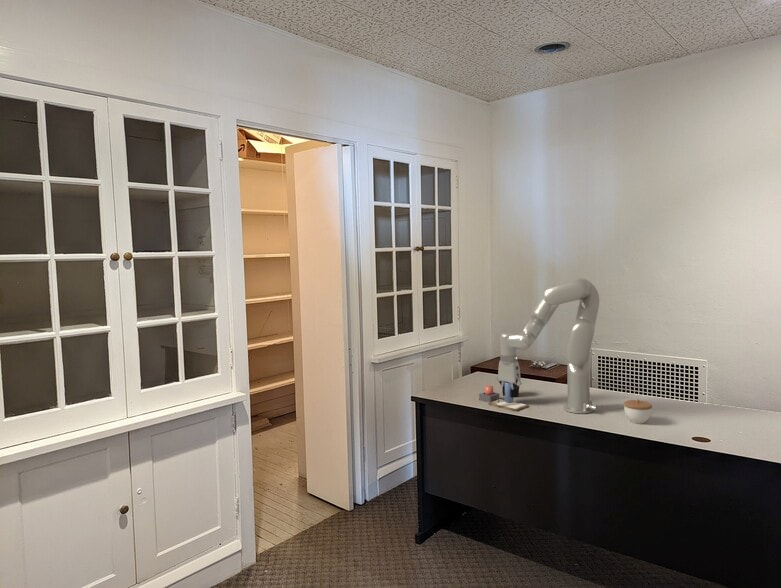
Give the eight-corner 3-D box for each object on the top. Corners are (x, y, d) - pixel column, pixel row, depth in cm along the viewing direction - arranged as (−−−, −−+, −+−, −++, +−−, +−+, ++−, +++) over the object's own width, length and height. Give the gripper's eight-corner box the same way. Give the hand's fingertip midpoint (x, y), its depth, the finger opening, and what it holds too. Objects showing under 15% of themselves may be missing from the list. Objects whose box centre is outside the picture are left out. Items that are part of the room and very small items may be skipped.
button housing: (499, 399, 266) (499, 393, 266) (490, 402, 262) (490, 396, 261) (488, 396, 272) (488, 391, 271) (479, 399, 267) (479, 393, 267)
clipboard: (529, 406, 253) (528, 404, 253) (516, 411, 246) (516, 409, 246) (501, 400, 265) (501, 398, 265) (488, 404, 258) (488, 402, 258)
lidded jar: (628, 425, 223) (628, 403, 222) (620, 417, 234) (620, 396, 233) (655, 425, 222) (655, 403, 221) (646, 417, 232) (646, 396, 231)
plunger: (495, 396, 266) (494, 386, 266) (489, 398, 264) (489, 388, 263) (488, 395, 269) (488, 385, 269) (483, 396, 267) (483, 386, 266)
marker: (515, 401, 258) (514, 376, 257) (510, 403, 255) (509, 378, 254) (508, 399, 261) (507, 375, 260) (503, 401, 258) (502, 377, 257)
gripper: (527, 359, 253) (528, 397, 254) (499, 355, 265) (499, 391, 267) (518, 362, 248) (519, 401, 249) (489, 357, 260) (490, 394, 262)
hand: (509, 395), depth 258 cm, fingers closed on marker, 3 cm apart
